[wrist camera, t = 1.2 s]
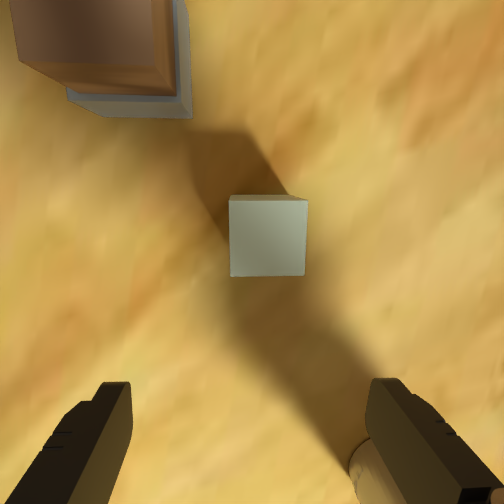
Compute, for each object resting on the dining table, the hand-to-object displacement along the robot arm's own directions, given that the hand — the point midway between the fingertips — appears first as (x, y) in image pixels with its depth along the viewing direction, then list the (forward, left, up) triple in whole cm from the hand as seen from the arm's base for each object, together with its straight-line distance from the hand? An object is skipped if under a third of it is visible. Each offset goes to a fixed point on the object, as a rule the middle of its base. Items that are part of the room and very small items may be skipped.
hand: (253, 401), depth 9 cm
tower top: (+7, -15, -12) cm, 21 cm away
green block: (-1, -3, -17) cm, 17 cm away
